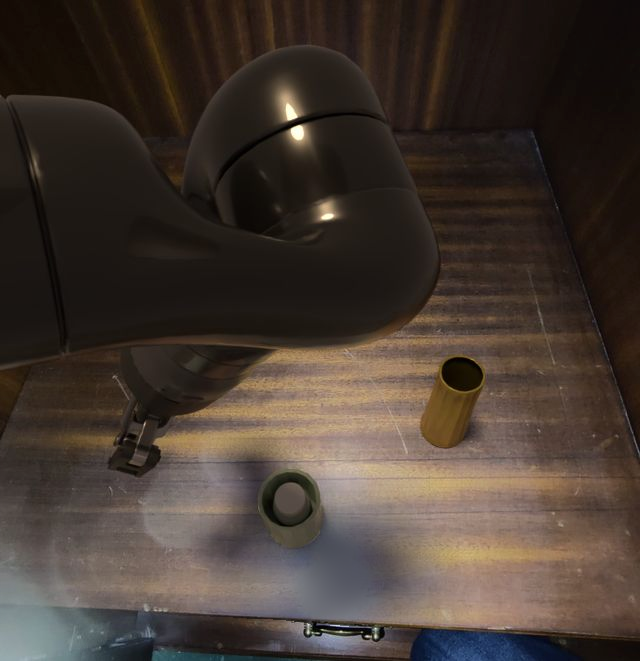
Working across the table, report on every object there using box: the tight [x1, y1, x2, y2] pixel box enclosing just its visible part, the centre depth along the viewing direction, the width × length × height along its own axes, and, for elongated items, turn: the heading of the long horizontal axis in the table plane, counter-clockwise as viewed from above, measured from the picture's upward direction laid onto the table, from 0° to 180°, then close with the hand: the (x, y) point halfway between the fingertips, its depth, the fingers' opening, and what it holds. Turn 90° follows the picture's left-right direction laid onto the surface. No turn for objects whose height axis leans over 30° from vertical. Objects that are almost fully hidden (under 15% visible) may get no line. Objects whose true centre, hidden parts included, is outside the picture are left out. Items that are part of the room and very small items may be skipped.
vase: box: [419, 353, 487, 449], centre depth 64 cm, size 6×6×14 cm
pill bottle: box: [273, 483, 313, 527], centre depth 60 cm, size 4×4×8 cm
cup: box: [257, 467, 324, 549], centre depth 60 cm, size 7×7×8 cm
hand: (143, 398), depth 46 cm, fingers open, 8 cm apart
